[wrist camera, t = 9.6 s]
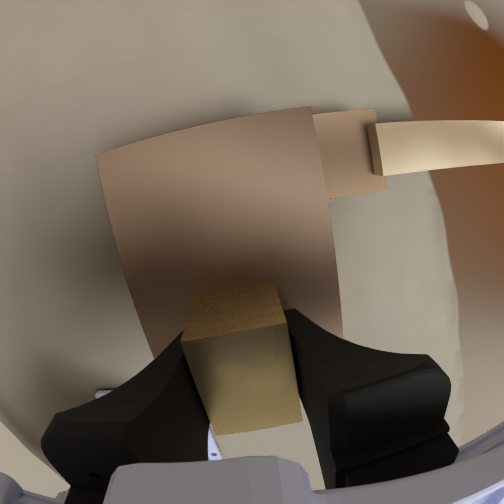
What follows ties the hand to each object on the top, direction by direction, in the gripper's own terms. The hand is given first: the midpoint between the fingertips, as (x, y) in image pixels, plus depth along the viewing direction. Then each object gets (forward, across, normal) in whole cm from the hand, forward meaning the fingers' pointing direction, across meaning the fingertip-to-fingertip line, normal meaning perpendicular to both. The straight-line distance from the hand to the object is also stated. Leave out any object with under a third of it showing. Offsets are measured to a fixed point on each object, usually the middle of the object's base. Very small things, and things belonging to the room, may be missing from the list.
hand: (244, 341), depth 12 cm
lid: (+2, 0, -2) cm, 2 cm away
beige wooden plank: (+4, -12, -6) cm, 14 cm away
